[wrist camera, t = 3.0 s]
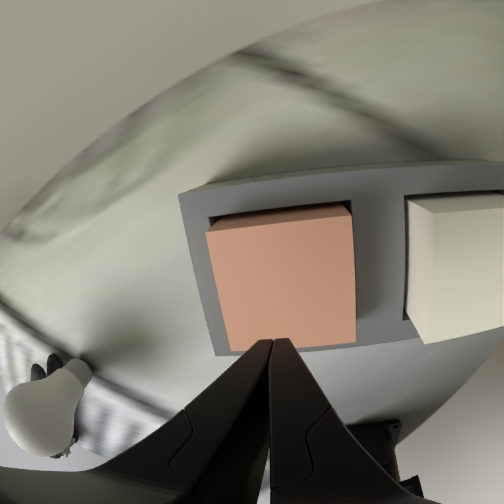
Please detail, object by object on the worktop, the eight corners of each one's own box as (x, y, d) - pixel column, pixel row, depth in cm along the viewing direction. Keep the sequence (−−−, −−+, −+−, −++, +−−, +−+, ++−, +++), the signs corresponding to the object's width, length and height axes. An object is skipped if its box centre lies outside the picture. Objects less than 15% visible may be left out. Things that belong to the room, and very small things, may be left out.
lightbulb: (92, 334, 22) (11, 420, 12) (124, 390, 24) (65, 479, 14) (51, 338, 24) (-22, 406, 13) (80, 388, 25) (23, 460, 15)
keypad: (479, 289, 16) (507, 317, 13) (230, 318, 20) (215, 355, 16) (483, 159, 14) (522, 165, 10) (203, 184, 17) (178, 194, 13)
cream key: (480, 285, 14) (518, 321, 10) (398, 298, 15) (424, 344, 11) (485, 189, 13) (535, 205, 8) (397, 195, 14) (433, 213, 9)
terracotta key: (343, 297, 17) (355, 342, 13) (246, 306, 18) (231, 351, 14) (336, 197, 15) (351, 215, 11) (229, 210, 16) (205, 232, 12)
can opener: (84, 445, 30) (66, 473, 25) (44, 419, 30) (24, 443, 25) (85, 370, 24) (54, 407, 19) (34, 334, 24) (0, 363, 19)
